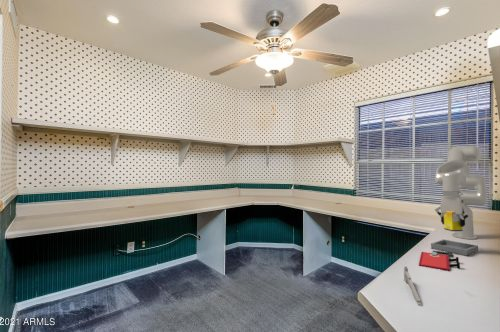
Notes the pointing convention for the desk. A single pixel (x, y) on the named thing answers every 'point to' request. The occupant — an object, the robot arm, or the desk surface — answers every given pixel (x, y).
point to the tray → (454, 247)
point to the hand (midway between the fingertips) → (452, 225)
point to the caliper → (411, 285)
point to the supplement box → (452, 221)
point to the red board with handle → (438, 260)
